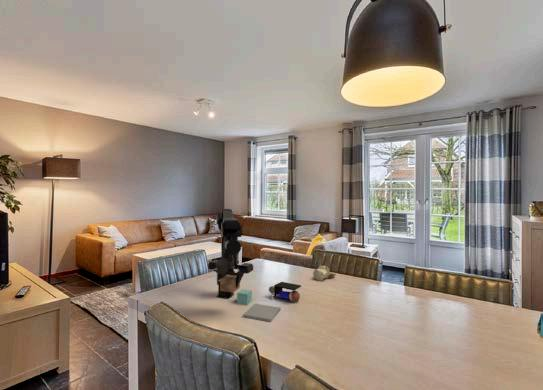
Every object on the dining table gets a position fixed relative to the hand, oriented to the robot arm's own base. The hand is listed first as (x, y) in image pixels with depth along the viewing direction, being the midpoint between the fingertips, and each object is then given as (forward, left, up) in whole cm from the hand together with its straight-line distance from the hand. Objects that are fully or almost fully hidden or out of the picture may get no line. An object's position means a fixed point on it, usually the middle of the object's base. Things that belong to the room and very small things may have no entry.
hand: (230, 286), depth 119 cm
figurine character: (+17, +23, -11) cm, 31 cm away
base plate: (+13, +4, -11) cm, 17 cm away
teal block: (+1, +12, -11) cm, 16 cm away
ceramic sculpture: (+28, +61, -11) cm, 69 cm away
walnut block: (0, 0, -1) cm, 1 cm away
